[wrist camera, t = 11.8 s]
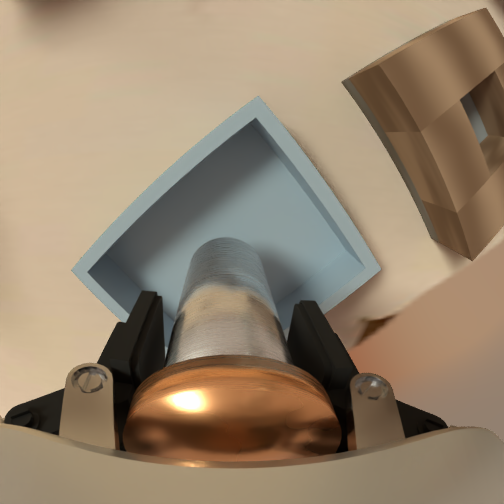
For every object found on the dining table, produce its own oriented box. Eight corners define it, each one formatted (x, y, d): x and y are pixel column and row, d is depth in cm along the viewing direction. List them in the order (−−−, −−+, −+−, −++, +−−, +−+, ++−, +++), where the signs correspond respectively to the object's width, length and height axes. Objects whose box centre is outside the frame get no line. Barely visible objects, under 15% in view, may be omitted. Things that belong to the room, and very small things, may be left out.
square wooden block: (447, 21, 14) (485, 7, 9) (510, 153, 19) (548, 160, 14) (341, 82, 16) (378, 64, 11) (431, 237, 21) (472, 261, 16)
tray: (251, 106, 16) (258, 95, 13) (355, 247, 20) (381, 269, 17) (95, 247, 19) (71, 270, 15) (208, 356, 22) (207, 391, 19)
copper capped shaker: (231, 205, 15) (248, 342, 4) (292, 276, 16) (372, 444, 6) (158, 267, 15) (85, 438, 5) (221, 328, 17) (226, 505, 7)
